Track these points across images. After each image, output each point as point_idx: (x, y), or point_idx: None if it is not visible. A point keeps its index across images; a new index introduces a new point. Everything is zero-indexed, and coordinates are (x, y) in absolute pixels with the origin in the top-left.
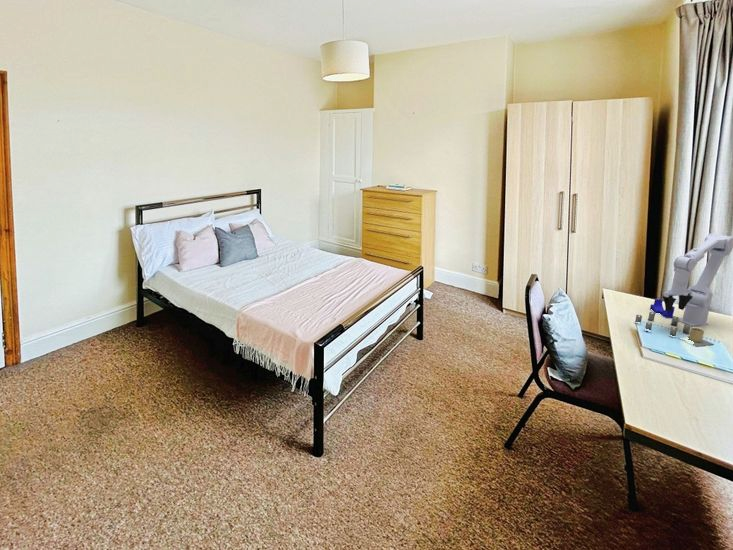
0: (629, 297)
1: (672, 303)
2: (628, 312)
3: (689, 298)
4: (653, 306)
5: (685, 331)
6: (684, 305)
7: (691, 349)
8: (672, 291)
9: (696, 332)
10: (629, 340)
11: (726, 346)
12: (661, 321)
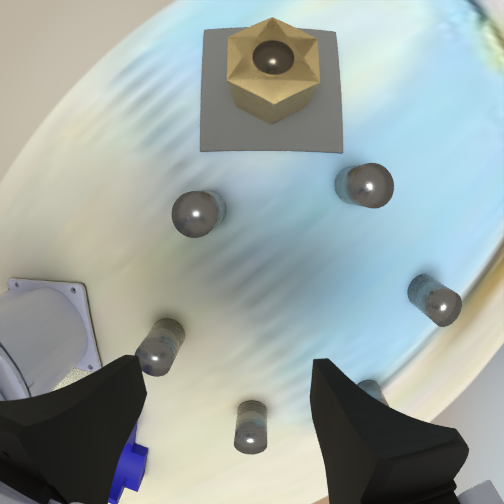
0: None
1: (369, 413)
2: (273, 482)
3: (26, 417)
4: (139, 481)
5: (221, 200)
6: (110, 379)
7: (388, 30)
8: None
9: (313, 39)
10: None
11: (154, 15)
12: (201, 388)
